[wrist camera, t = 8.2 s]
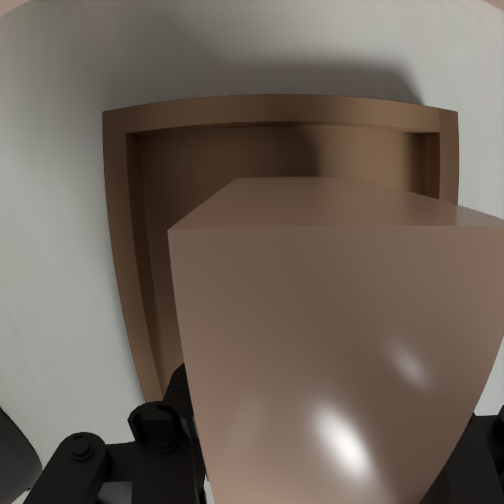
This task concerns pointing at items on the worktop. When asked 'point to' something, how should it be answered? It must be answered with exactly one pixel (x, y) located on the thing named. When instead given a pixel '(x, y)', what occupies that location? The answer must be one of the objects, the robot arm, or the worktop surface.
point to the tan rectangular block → (334, 336)
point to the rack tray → (244, 166)
